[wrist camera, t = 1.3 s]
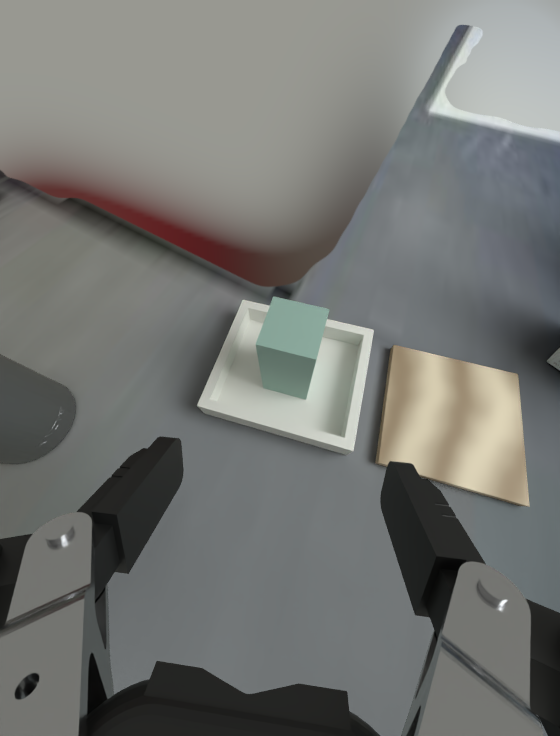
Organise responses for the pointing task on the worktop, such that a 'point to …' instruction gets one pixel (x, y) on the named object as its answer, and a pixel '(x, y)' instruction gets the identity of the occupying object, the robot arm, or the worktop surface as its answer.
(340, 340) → the tray
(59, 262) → the worktop surface
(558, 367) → the supplement box
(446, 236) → the worktop surface
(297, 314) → the carton
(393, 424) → the board
